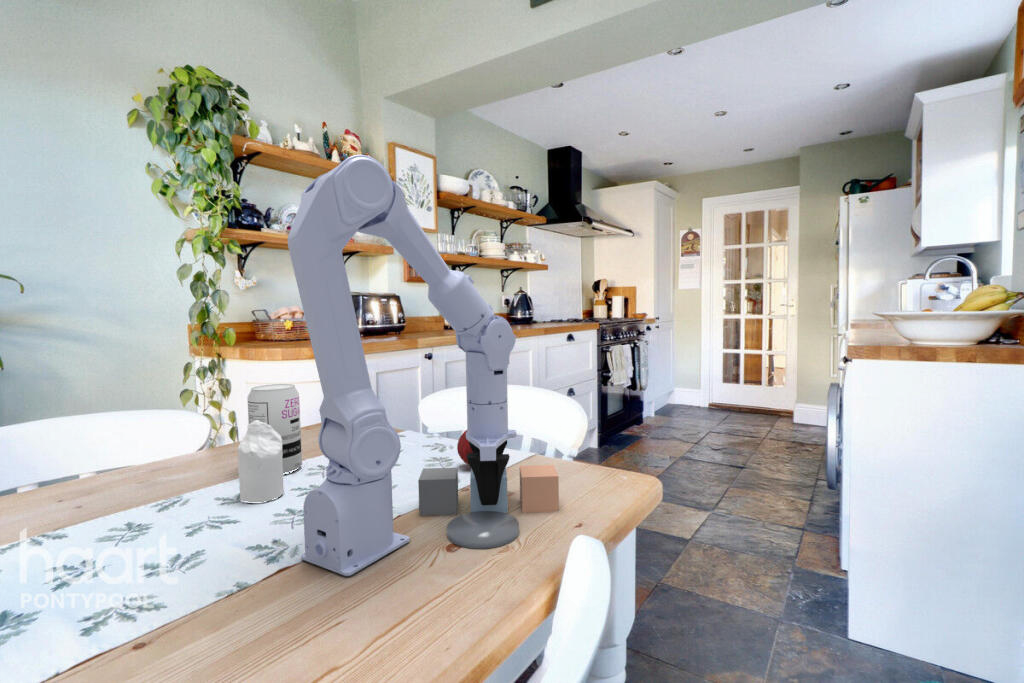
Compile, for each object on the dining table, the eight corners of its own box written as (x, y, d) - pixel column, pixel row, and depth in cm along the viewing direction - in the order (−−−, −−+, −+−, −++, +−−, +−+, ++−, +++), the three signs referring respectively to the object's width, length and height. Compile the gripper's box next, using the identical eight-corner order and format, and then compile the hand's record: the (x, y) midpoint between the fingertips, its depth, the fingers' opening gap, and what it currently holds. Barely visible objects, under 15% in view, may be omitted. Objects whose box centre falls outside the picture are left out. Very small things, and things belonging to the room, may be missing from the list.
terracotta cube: (558, 511, 68) (558, 476, 68) (522, 513, 68) (521, 477, 67) (553, 498, 73) (553, 464, 72) (520, 499, 73) (519, 465, 72)
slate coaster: (493, 555, 56) (493, 548, 56) (431, 538, 60) (431, 531, 60) (532, 525, 63) (532, 519, 63) (474, 511, 68) (474, 506, 68)
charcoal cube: (456, 514, 67) (455, 478, 67) (419, 516, 67) (418, 480, 67) (458, 501, 72) (457, 467, 72) (424, 502, 72) (423, 468, 72)
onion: (489, 472, 85) (488, 426, 84) (455, 473, 85) (454, 426, 84) (491, 462, 90) (490, 419, 90) (460, 462, 91) (458, 419, 90)
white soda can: (255, 466, 90) (251, 385, 89) (304, 461, 93) (301, 382, 92) (246, 480, 83) (241, 391, 82) (299, 475, 85) (296, 388, 84)
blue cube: (507, 513, 68) (507, 477, 67) (471, 514, 67) (470, 478, 67) (506, 499, 73) (505, 466, 72) (472, 500, 72) (471, 467, 72)
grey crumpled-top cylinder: (279, 413, 78) (282, 420, 73) (283, 488, 79) (285, 499, 74) (236, 418, 75) (235, 425, 70) (240, 495, 76) (239, 507, 71)
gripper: (519, 410, 62) (520, 516, 63) (513, 391, 77) (514, 478, 77) (462, 411, 62) (465, 518, 63) (467, 393, 76) (469, 479, 77)
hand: (489, 496), depth 70 cm, fingers open, 5 cm apart
